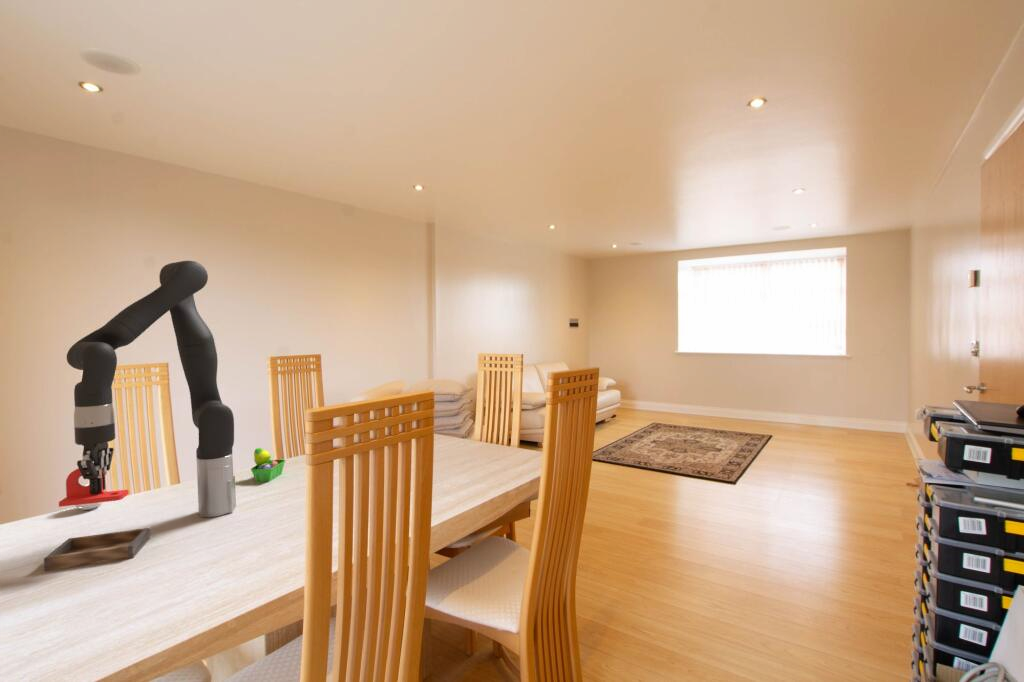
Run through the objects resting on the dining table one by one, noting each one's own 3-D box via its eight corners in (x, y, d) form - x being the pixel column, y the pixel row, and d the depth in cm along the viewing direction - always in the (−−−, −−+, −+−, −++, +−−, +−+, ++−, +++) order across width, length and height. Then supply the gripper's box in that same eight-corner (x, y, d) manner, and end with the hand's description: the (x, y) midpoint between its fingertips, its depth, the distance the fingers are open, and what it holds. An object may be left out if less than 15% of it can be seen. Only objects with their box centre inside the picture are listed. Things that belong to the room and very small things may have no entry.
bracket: (59, 506, 113) (57, 473, 112) (69, 500, 117) (67, 468, 117) (120, 500, 117) (119, 468, 116) (128, 493, 121) (127, 462, 121)
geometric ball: (93, 514, 151) (105, 489, 155) (102, 510, 147) (114, 484, 151) (63, 509, 146) (77, 483, 150) (72, 504, 142) (86, 478, 146)
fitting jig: (149, 538, 127) (149, 527, 127) (133, 557, 117) (132, 545, 116) (69, 550, 121) (69, 538, 121) (44, 571, 111) (43, 558, 111)
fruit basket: (271, 482, 171) (270, 451, 170) (246, 483, 171) (245, 451, 170) (286, 472, 182) (285, 443, 182) (263, 473, 182) (262, 443, 182)
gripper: (100, 427, 113) (103, 499, 113) (125, 416, 125) (127, 481, 126) (60, 429, 110) (64, 504, 111) (89, 418, 123) (92, 485, 123)
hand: (97, 492), depth 118 cm, fingers closed on bracket, 1 cm apart
